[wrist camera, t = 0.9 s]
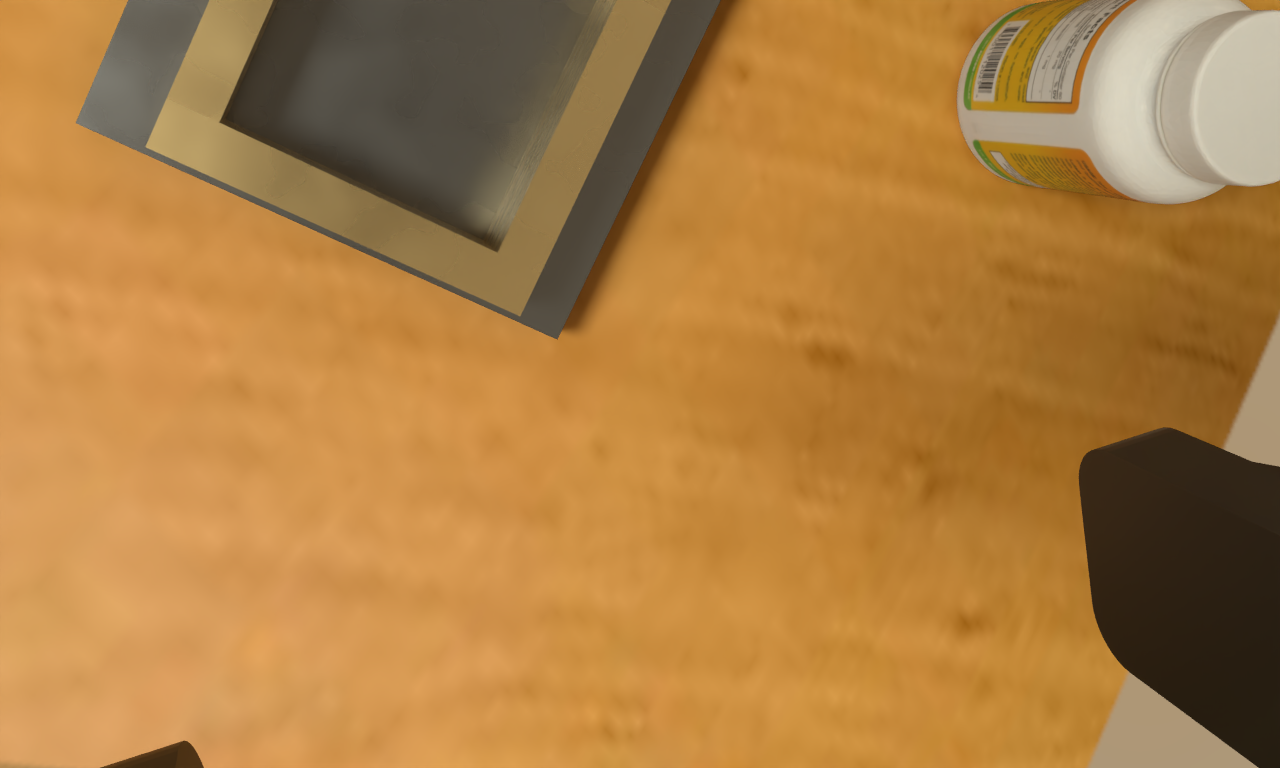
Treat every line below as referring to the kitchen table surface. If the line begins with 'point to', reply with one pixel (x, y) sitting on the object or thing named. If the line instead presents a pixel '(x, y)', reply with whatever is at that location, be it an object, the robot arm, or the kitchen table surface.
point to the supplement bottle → (1127, 97)
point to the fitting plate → (412, 123)
